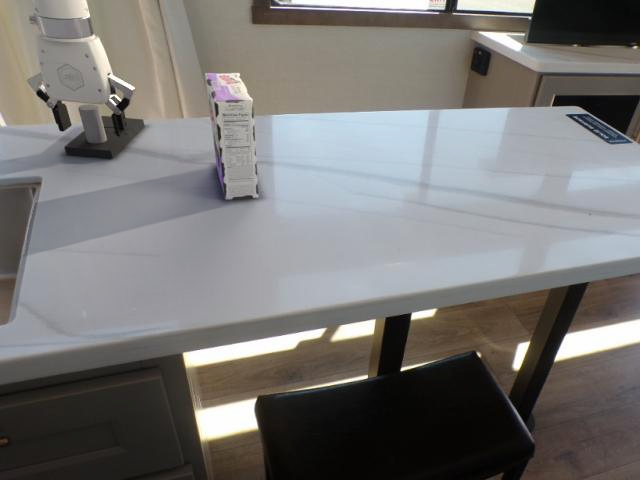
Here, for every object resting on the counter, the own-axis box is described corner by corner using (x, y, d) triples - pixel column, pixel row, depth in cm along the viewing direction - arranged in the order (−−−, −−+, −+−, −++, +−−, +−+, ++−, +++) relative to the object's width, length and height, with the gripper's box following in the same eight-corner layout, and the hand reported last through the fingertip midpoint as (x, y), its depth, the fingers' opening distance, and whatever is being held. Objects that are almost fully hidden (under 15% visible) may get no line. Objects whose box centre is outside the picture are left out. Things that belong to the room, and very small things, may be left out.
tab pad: (66, 154, 93) (53, 112, 88) (92, 133, 101) (81, 93, 96) (112, 158, 93) (102, 117, 89) (134, 137, 101) (126, 98, 97)
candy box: (215, 165, 95) (203, 71, 85) (248, 163, 97) (240, 71, 87) (224, 201, 85) (212, 99, 75) (260, 198, 87) (253, 98, 77)
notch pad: (86, 137, 99) (84, 129, 98) (104, 122, 105) (102, 115, 104) (129, 141, 100) (128, 133, 99) (144, 126, 106) (143, 119, 105)
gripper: (-5, 25, 80) (32, 134, 90) (112, 38, 81) (135, 143, 92) (22, 16, 86) (54, 119, 96) (131, 28, 87) (150, 128, 98)
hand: (93, 131), depth 94 cm, fingers open, 9 cm apart
